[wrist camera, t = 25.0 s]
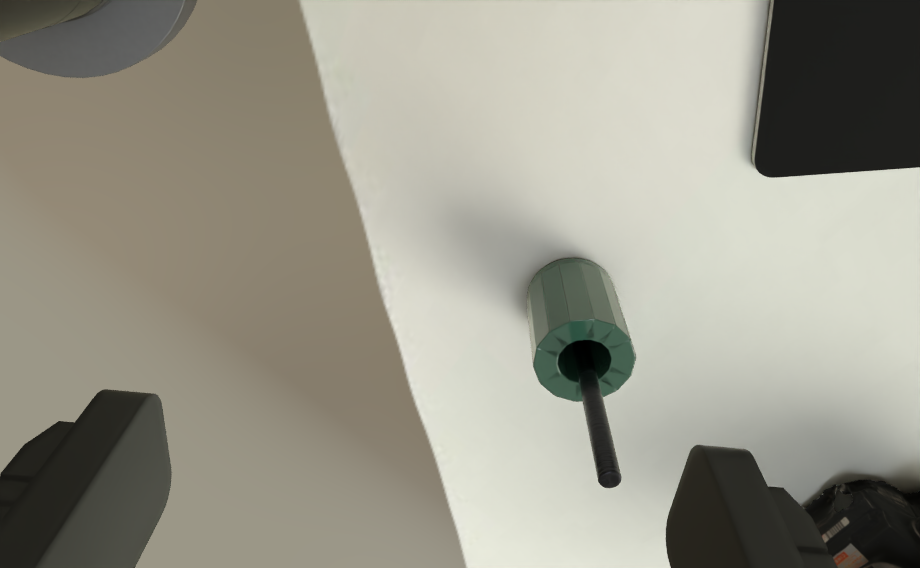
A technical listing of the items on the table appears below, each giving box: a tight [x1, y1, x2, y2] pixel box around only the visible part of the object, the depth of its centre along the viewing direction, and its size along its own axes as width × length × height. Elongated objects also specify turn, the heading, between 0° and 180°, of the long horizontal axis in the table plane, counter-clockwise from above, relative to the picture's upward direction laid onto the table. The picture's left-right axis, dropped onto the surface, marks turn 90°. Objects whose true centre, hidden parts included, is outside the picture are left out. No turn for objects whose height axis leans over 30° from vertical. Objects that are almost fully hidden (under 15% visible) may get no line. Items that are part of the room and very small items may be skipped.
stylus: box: [571, 340, 621, 488], centre depth 37 cm, size 1×1×15 cm
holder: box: [527, 258, 636, 402], centre depth 41 cm, size 5×6×7 cm
